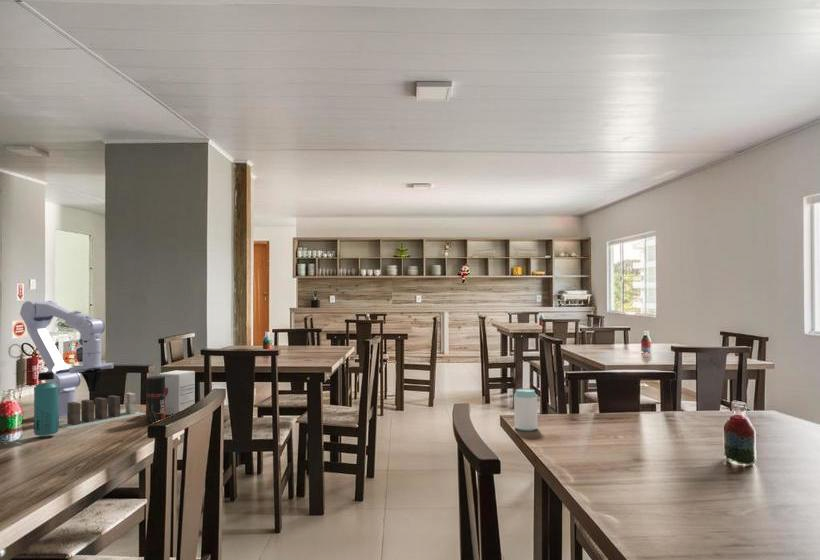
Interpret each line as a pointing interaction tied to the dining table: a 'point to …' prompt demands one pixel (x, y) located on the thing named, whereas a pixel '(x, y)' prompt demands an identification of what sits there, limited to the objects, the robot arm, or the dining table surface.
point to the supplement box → (178, 390)
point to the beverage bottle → (46, 406)
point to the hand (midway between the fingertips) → (92, 391)
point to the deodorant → (155, 398)
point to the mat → (98, 421)
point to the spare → (130, 403)
